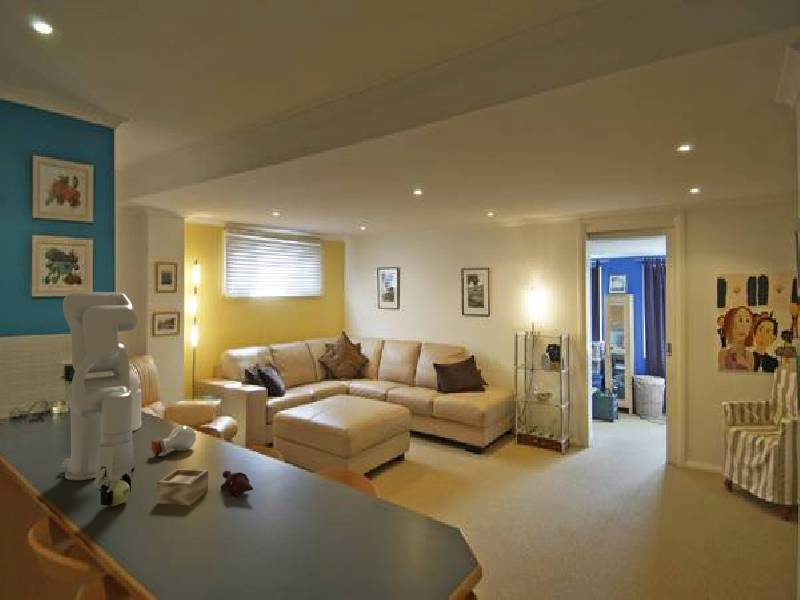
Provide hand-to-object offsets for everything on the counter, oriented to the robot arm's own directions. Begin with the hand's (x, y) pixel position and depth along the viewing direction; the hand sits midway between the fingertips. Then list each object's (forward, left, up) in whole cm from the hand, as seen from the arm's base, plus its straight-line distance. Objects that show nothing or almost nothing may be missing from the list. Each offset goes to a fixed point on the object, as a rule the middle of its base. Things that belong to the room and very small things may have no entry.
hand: (116, 498), depth 130 cm
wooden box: (+16, +8, -2) cm, 17 cm away
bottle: (-45, +65, -2) cm, 79 cm away
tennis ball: (0, 0, -1) cm, 1 cm away
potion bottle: (-7, +41, -2) cm, 42 cm away
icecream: (+31, +11, -2) cm, 33 cm away
